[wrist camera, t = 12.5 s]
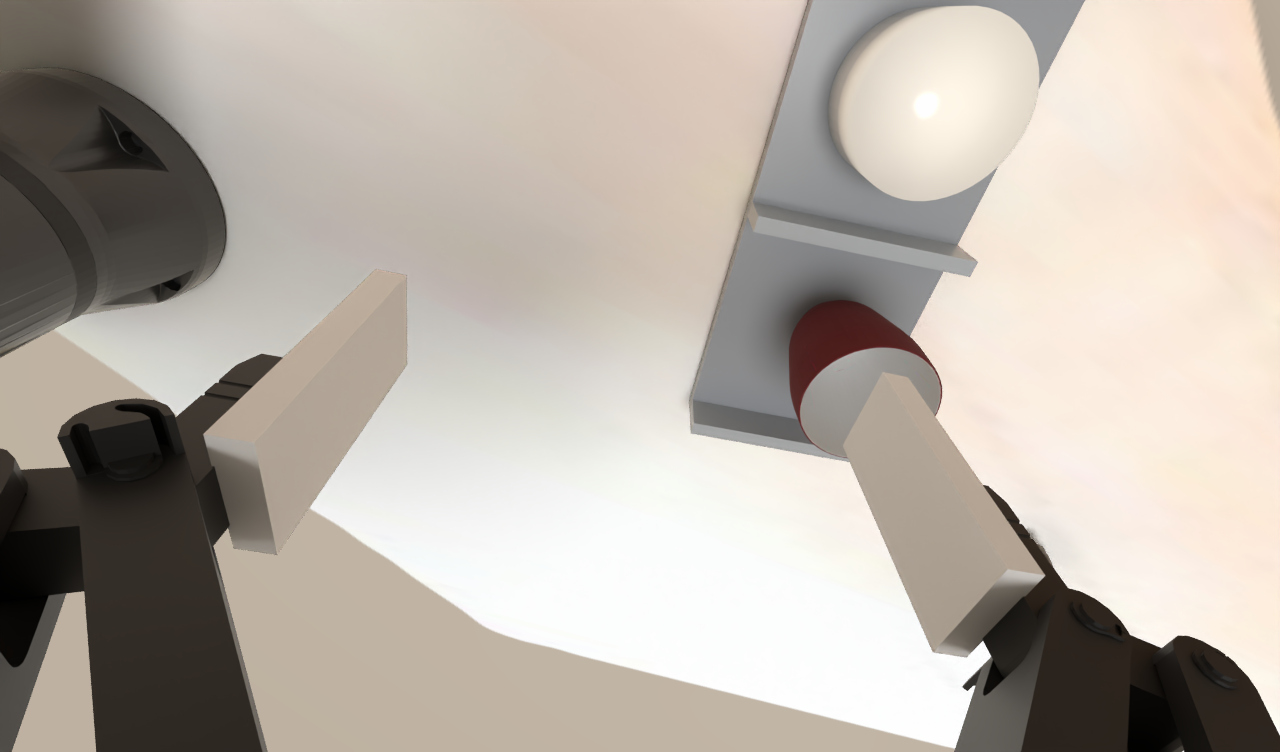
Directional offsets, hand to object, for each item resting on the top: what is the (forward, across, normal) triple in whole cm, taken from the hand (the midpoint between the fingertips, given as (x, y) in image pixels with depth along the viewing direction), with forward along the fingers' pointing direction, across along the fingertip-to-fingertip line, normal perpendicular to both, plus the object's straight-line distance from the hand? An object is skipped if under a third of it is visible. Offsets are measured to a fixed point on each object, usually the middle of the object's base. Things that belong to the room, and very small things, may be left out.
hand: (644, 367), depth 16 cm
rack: (+24, +14, -1) cm, 28 cm away
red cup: (+23, +16, -9) cm, 30 cm away
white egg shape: (+23, +14, +7) cm, 28 cm away
